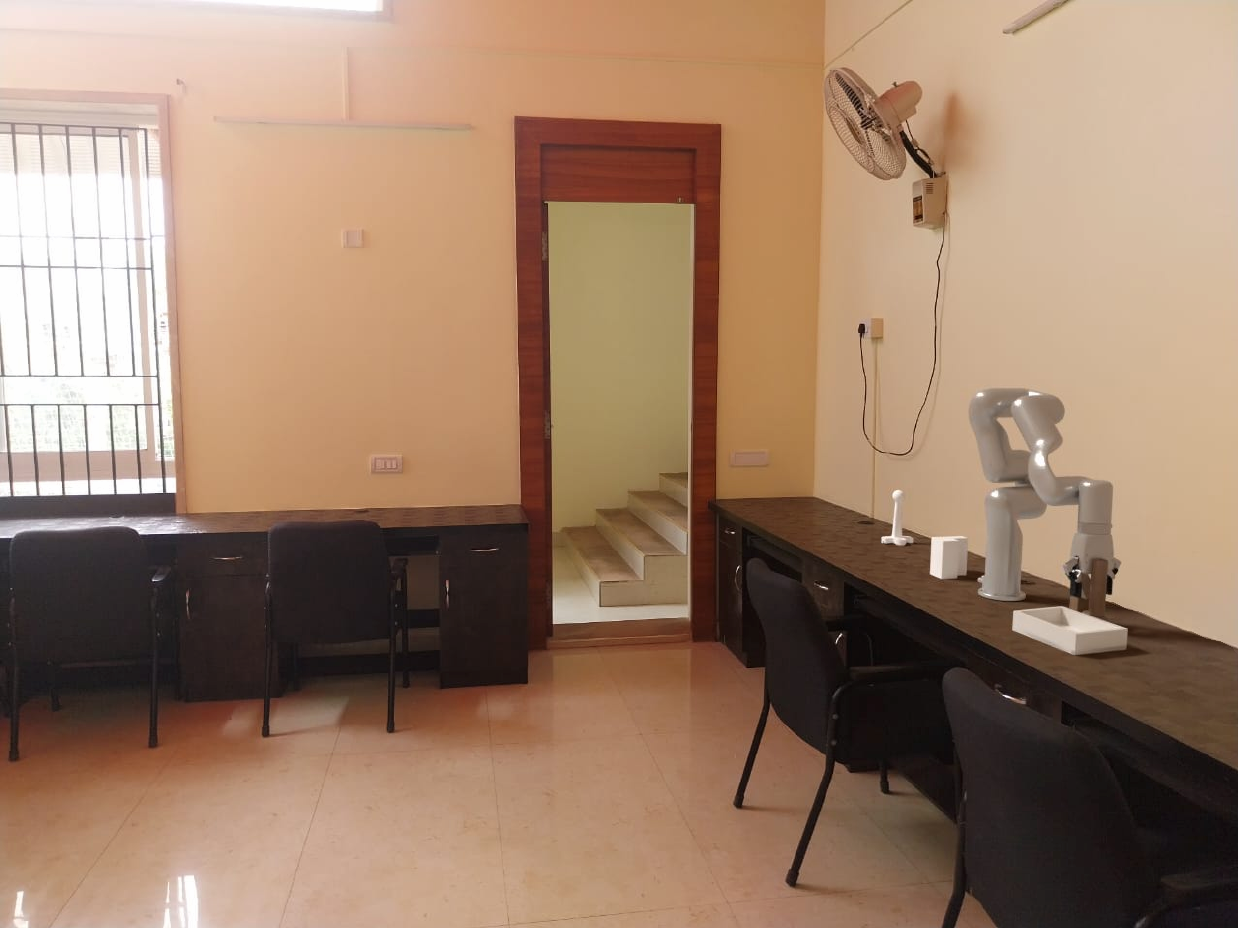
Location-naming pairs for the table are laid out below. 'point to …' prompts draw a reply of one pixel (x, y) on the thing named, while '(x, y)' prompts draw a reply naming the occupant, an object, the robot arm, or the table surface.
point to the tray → (1070, 630)
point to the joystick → (897, 522)
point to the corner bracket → (948, 556)
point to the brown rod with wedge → (1093, 591)
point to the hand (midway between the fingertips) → (1090, 595)
